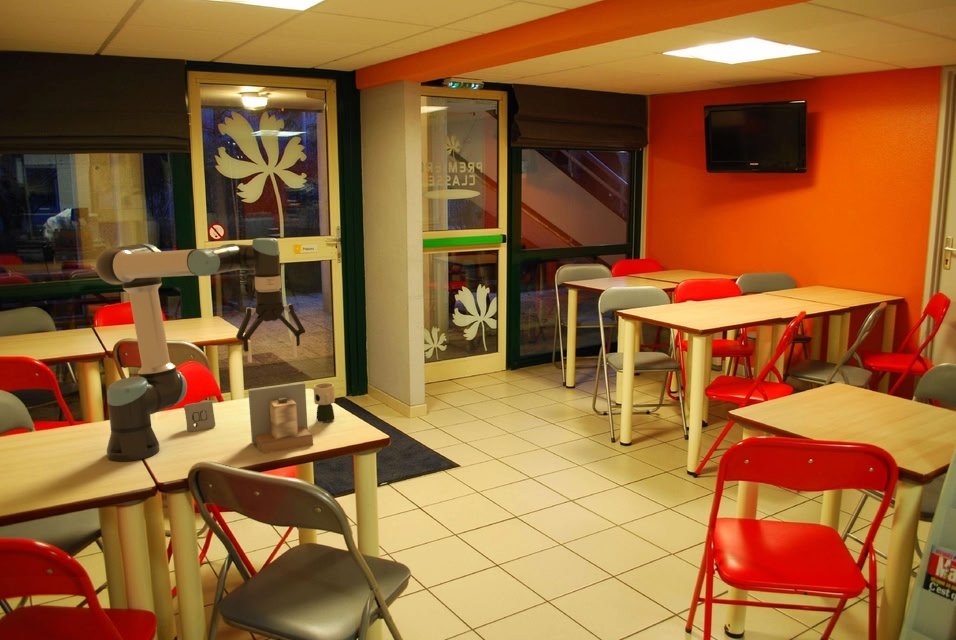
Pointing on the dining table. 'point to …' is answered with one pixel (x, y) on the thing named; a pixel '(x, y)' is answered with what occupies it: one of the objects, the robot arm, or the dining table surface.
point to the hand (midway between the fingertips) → (272, 359)
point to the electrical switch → (199, 416)
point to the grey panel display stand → (263, 421)
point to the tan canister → (283, 418)
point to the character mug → (324, 401)
